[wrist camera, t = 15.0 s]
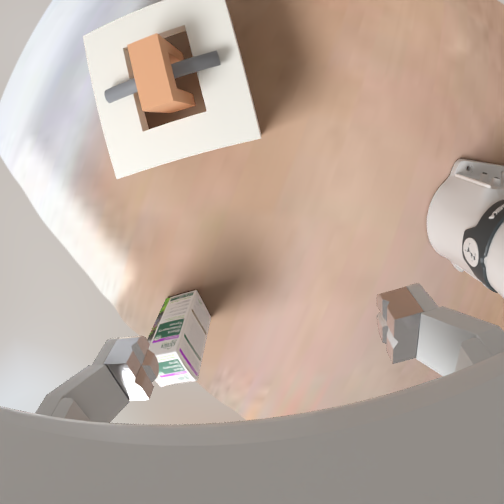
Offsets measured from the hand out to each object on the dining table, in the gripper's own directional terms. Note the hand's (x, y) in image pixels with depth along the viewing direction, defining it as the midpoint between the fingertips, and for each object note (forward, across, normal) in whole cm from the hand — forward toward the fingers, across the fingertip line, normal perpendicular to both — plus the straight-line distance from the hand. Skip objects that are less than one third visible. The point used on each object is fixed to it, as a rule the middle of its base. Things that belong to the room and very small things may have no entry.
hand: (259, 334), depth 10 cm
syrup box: (+33, +16, +18) cm, 41 cm away
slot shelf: (+33, +7, -14) cm, 37 cm away
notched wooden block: (+28, +7, -14) cm, 32 cm away
